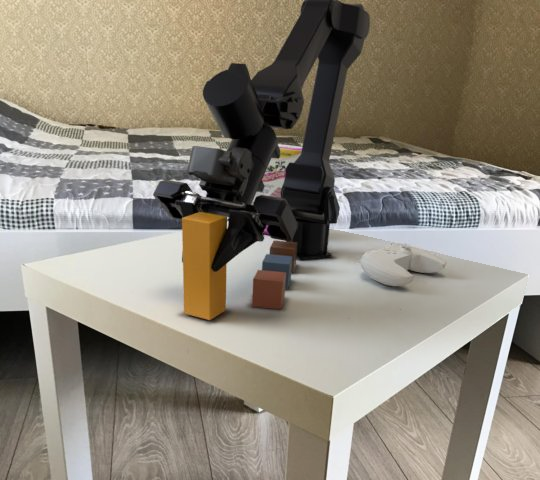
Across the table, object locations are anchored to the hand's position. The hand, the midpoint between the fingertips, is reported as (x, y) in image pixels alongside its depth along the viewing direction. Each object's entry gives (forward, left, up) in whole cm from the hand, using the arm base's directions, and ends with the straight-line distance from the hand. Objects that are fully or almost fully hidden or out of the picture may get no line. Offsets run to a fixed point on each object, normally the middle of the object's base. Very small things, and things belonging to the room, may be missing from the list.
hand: (198, 266), depth 72 cm
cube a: (-19, -15, -7) cm, 25 cm away
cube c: (-11, -2, -7) cm, 13 cm away
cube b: (-15, -8, -7) cm, 19 cm away
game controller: (-36, -6, -7) cm, 37 cm away
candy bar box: (-27, -35, -7) cm, 45 cm away
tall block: (-1, -1, -7) cm, 7 cm away
